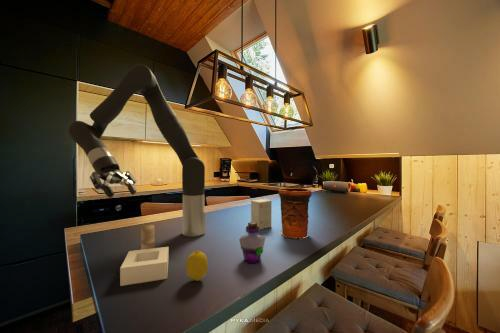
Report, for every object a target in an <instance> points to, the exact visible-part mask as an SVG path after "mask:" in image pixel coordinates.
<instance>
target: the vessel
mask: <svg viewBox="0 0 500 333" xmlns="http://www.w3.org/2000/svg"><path fill="white" fill-rule="evenodd" d="M277 192H278V196H279V199H280V215H281V230H280V233H281V234H283V236H282V237H285V238H291V239H295V240H298V239H297V238H303V237H306V236H307V234H308V226H309V203H310V199H311V197H312V195H313V194H312V191H311V189H307V188H302V187H301V188H297V187H292V188H289V187H283V188H282V187H281V188H279V189H278V191H277ZM281 231H282V232H281ZM281 234H280V235H281Z"/></svg>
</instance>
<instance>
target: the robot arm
mask: <svg viewBox="0 0 500 333" xmlns="http://www.w3.org/2000/svg"><path fill="white" fill-rule="evenodd" d="M138 91H139V93H141V94H140V95H142V96H143V98H144V100H145V101H146V102H147V104H148V106H149V109H150V111H151V114H152V118H153V119H154V120H153V121H154V123H155V125H156V126H157V128H158V130H159V132H160V133H161V135H162V136H163V138H164V140H166V142H167V143H168V145H169V146H170V147H171V149H172V150H173V151H174V152H175V154H176V156H177V158H178V159H179V162H180V164H181V167H182V168H181V170H182V171H181V175H182V176H181V179H182V180H181V188H182V229H181V231H182V236H184V237H192V238H193V237H199V236H202V235H205V234H206V212H205V189H206V188H205V187H206V185H205V184H206V181H205V180H206V179H205V178H206V177H205V176H206V174H205V173H206V171H205V170H206V167H205V164H204V162H203V160H201V159H200V157H199V156H198V154H197V152H195V150H194V148H193V147H192V145H191V143H190V141H189V137H188V135H187V133H186V130H185V128H184V127H183V125H182V123H181V121H180V119H179V118H178V115H177V114H176V112H175V111H174V109H173V108H172V106H171V105H170V103H169V102H168V101H167V99H166V98H165V96H164V94H163V92H162V90H161V88H160V85H159V82H158V80H157V78H156V76H155V74H154V73H153V72H152V70H151V69H150V67H148V66H146V64H141V63H139V64H138V63H137V64H134V65H132V66H131V68H129V70H128V71H127V72H126V74H124V76H123V78H122V79H121V80H120V81H119V82H118V84H117V85H116V86H115V88H114V89H113V90H112V91H111V93H110V94H109V95H108V96H106V98H105V99H104V100H103V101H102V102H100V104H98V105H97V106H96V107H95V108H94V109H93V110H92V111H90V114H89V118H90V119H91V121H93V123H92V125H90V124H89V123H87V122H84V121H82V120H74V121H72V122H71V123H70V124H69V125H68V128H67V129H68V134H69V136H70V138H71V139H72V140H73V141H74V142H75V143H76V145H77V146H78V147H80V148H81V149H82V150H83V152H84V153H85V155H86V157H87V159H88V161H89V163H90V164H91V165H90V166H92V168H93V170H94V171H93V172H91V175H90V176H89V179H90V181H91V183H92V185H93V187H94V189H95V190H99V189H100V190H102V191H103V192H104V194H105V196H106V197H108V198H109V199H111V198H113V197H114V196H115V193H114V191H113V189H112V188H111V186H110V185H114V184H117V185H118V184H119V185H121V186H124V187H126V188H127V190H128V192H129V193H130V195H131V196H132V195H133V196H134V195H135V194H136V193H137V189H136V187H135V186H134V185H135V184H136V183H137V180H136V179H135V177H134V176H133V174H132V173H131V172H130V170H127V171H126V172H123V171H121V169H120V164H119V163H118V162H117V160H116V159H115V157H114V156H113V154H112V152H110V150H109V149H108V148H107V146H106V145H105V143H104V142H103V141H102V139H101V138H102V136H103V135H104V133H105V131H106V129H107V127H108V126H109V125H110V124H111V123H112V122H113V121H115V119H116V118H117V117H118V116H119V115H120V114H121V112H122V111H123V109H124V107H126V104H127V103H128V101H129V99H130V98H131V97H133V96H134V94H136V93H137V92H138ZM101 180H102V181H103V182H102V181H101Z"/></svg>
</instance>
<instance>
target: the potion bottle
mask: <svg viewBox="0 0 500 333" xmlns="http://www.w3.org/2000/svg"><path fill="white" fill-rule="evenodd" d="M245 232H246V233H247V234H245V235H242V236H241V235H240V236H241V237H240V238H239V243H240V244H239V245H240V250H242V254H243V256H242V257H243V261H244V262H245V263H247V264H253V265H255V264H259V263H260V262H261V260H262V259H261V258H262V257H261V256H262V254H263V253H264V246H265V242H266V241H265V240H266V237H265V236H263V235H261V234H258V233H259V232H260V230H259V226H257V223H256V222H251V221H250V222H248V223H247V225H246V227H245Z"/></svg>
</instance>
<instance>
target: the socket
mask: <svg viewBox="0 0 500 333" xmlns="http://www.w3.org/2000/svg"><path fill="white" fill-rule="evenodd" d="M169 251H170V250H169V246H163V247H155V248H152V249H143V250H141V249H135V250H129V251H128V253H127V254H126V257H125V258H124V261H123V262H122V264H121V266H120V267H119V274H120V275H119V278H120V280H119V281H120V283H119V285H120V287H122V286H123V287H124V286H128V285H135V284H142V283H148V282H154V281H160V280H161V281H162V280H166V279H168V274H169V272H168V271H169V258H170V257H169Z"/></svg>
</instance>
